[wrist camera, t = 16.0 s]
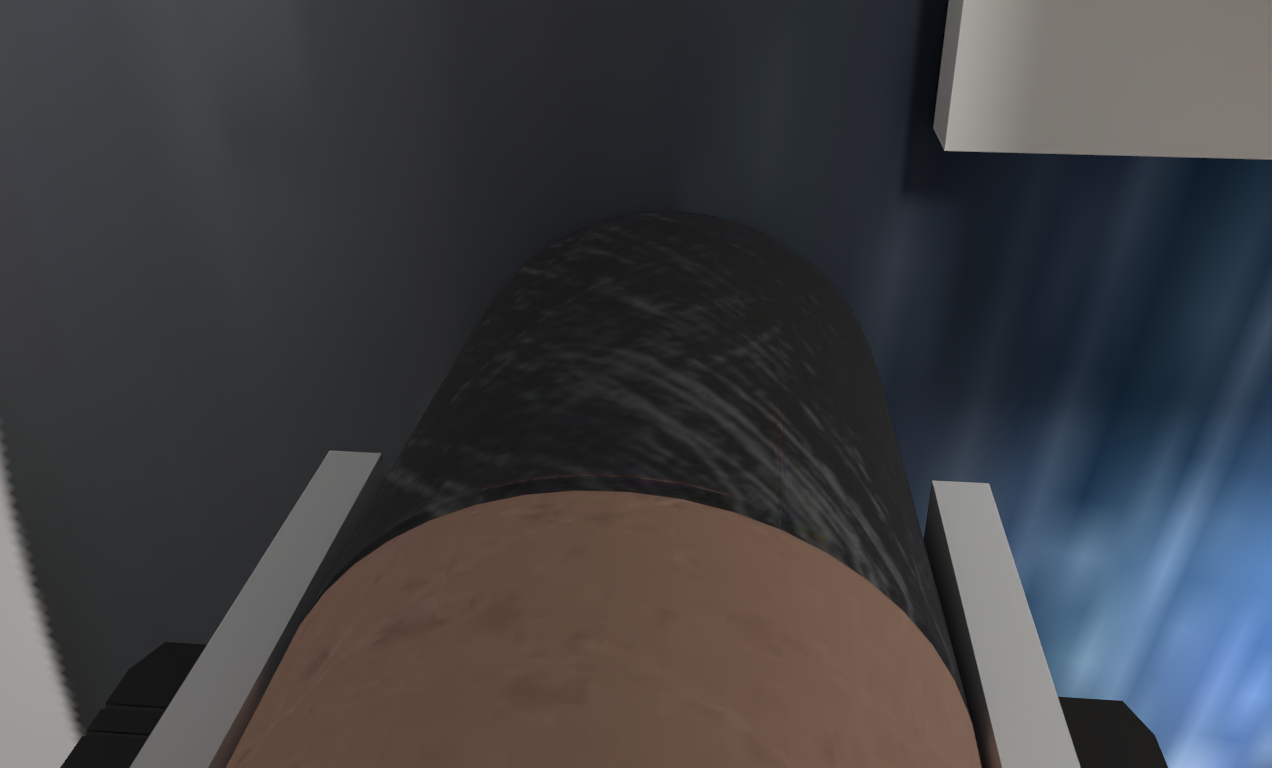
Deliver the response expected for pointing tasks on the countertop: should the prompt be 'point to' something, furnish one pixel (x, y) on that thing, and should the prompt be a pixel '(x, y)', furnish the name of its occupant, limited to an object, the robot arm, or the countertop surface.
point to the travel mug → (636, 539)
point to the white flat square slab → (1107, 78)
